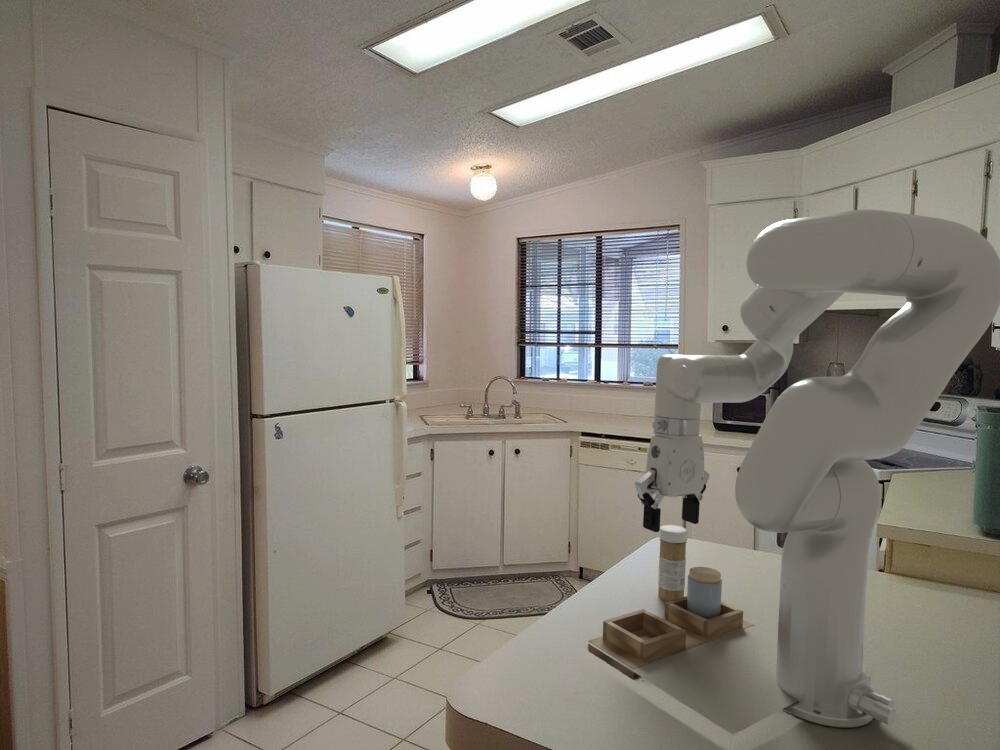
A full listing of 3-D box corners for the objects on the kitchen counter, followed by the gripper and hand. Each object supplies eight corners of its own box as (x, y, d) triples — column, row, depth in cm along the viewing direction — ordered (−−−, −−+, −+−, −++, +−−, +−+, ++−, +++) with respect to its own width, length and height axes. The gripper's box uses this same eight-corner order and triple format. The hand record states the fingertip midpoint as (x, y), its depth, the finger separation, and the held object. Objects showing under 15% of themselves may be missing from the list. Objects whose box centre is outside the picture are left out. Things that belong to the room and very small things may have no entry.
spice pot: (727, 625, 94) (729, 574, 94) (705, 632, 91) (707, 580, 91) (700, 613, 98) (702, 564, 98) (679, 620, 95) (681, 569, 95)
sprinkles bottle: (667, 597, 108) (670, 522, 107) (689, 606, 104) (692, 528, 104) (651, 604, 105) (654, 526, 104) (674, 613, 101) (677, 533, 101)
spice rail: (754, 634, 95) (755, 608, 94) (633, 679, 80) (634, 650, 80) (706, 612, 102) (707, 588, 102) (588, 650, 88) (588, 623, 88)
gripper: (657, 433, 96) (652, 540, 97) (727, 427, 105) (721, 524, 106) (623, 426, 102) (618, 526, 103) (692, 421, 111) (687, 513, 113)
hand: (671, 525), depth 105 cm, fingers open, 9 cm apart
